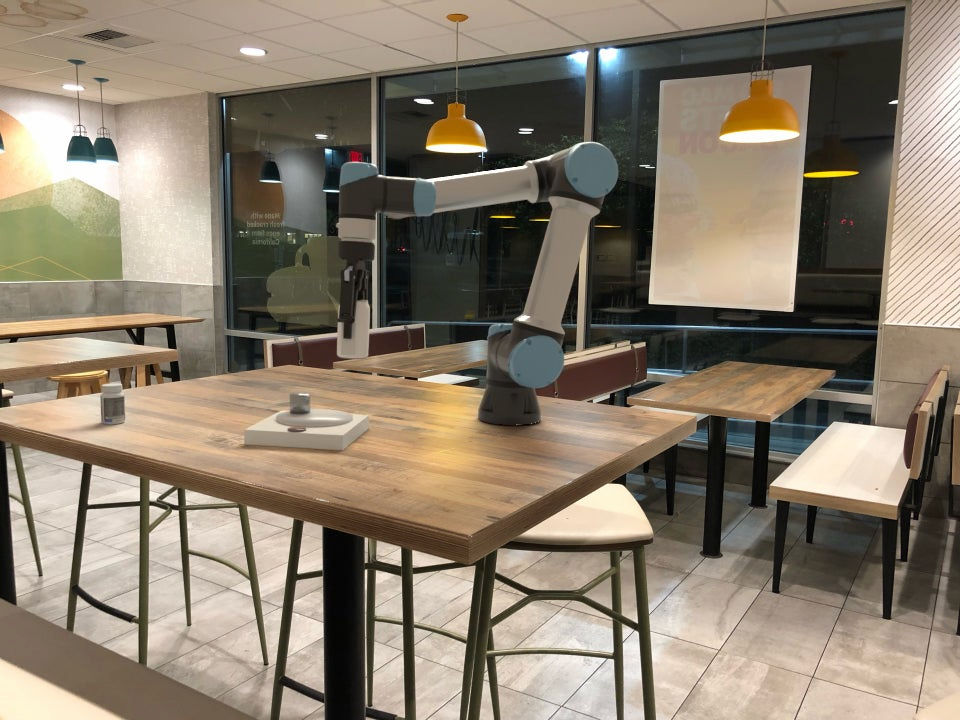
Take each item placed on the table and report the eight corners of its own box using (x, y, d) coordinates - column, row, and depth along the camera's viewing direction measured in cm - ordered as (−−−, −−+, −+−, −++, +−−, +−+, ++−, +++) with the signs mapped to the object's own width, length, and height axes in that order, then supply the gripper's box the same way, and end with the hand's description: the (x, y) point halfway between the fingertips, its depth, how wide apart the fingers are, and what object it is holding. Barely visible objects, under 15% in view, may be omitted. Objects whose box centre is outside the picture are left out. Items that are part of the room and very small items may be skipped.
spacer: (313, 410, 165) (313, 392, 164) (306, 414, 160) (306, 396, 160) (293, 409, 165) (293, 391, 165) (286, 413, 161) (286, 395, 160)
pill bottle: (130, 421, 164) (129, 384, 163) (111, 425, 160) (110, 387, 159) (115, 419, 166) (113, 382, 165) (96, 423, 162) (94, 384, 161)
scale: (369, 427, 166) (370, 411, 166) (342, 450, 146) (343, 432, 145) (283, 422, 168) (283, 406, 168) (244, 444, 148) (244, 426, 147)
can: (361, 360, 151) (364, 301, 150) (331, 357, 152) (333, 299, 151) (372, 356, 158) (374, 300, 156) (343, 354, 159) (345, 298, 157)
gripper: (351, 241, 162) (347, 347, 165) (324, 237, 143) (320, 356, 146) (384, 243, 161) (380, 349, 164) (362, 239, 142) (358, 359, 145)
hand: (352, 352), depth 155 cm, fingers closed on can, 6 cm apart
